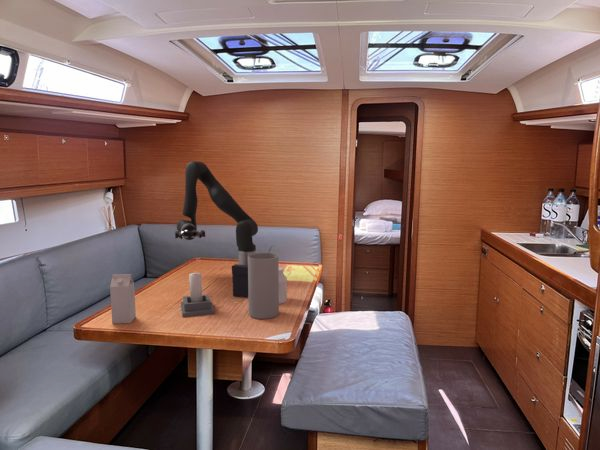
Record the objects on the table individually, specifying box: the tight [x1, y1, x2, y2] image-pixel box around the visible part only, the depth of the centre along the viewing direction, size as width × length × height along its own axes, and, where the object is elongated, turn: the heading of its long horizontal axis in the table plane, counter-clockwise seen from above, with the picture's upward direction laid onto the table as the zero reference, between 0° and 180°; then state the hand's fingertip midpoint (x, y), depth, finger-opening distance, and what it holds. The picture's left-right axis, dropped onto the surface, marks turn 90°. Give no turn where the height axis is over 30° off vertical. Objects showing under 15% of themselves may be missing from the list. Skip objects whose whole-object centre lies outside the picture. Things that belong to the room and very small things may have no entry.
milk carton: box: [109, 273, 137, 324], centre depth 174 cm, size 7×7×19 cm
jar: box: [279, 266, 288, 305], centre depth 200 cm, size 12×10×15 cm
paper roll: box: [188, 272, 203, 303], centre depth 188 cm, size 5×5×14 cm
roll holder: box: [180, 294, 216, 318], centre depth 189 cm, size 13×16×4 cm
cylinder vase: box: [247, 252, 280, 320], centre depth 181 cm, size 12×12×25 cm
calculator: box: [231, 263, 249, 299], centre depth 206 cm, size 11×4×15 cm, turn 71°
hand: (191, 236), depth 208 cm, fingers open, 8 cm apart
